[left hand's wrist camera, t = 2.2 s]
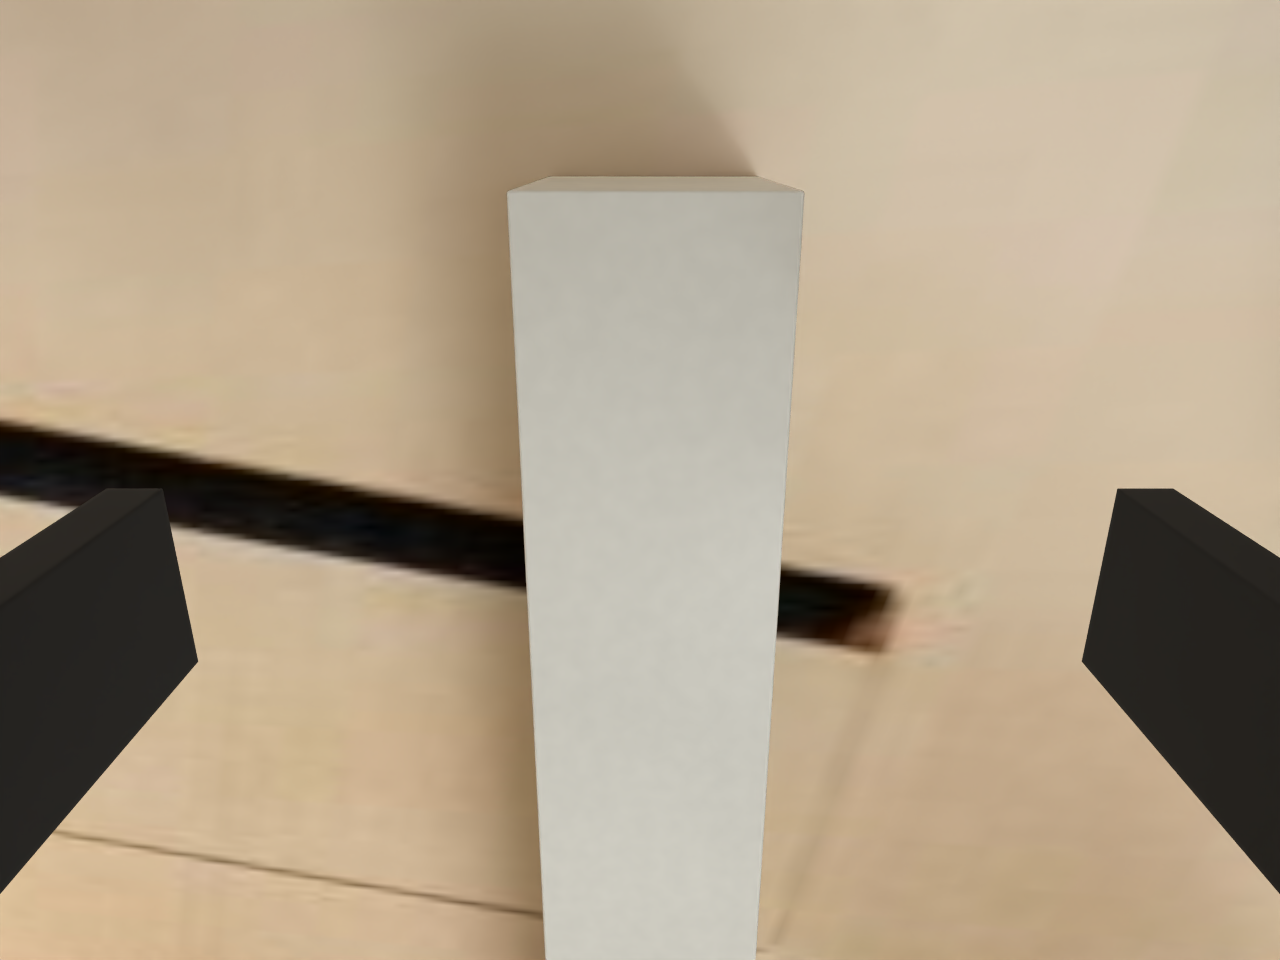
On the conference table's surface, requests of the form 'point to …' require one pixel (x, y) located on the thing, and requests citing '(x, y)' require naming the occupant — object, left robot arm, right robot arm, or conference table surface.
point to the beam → (653, 546)
